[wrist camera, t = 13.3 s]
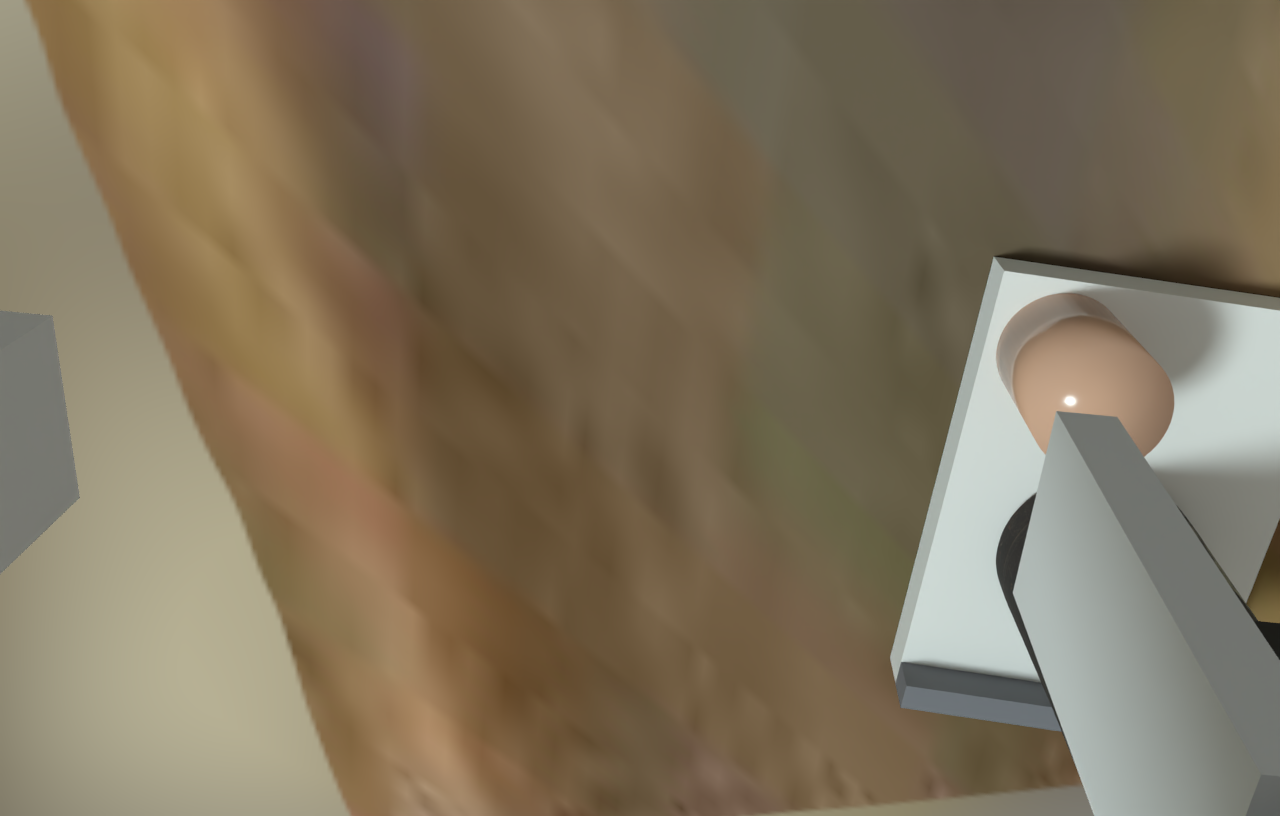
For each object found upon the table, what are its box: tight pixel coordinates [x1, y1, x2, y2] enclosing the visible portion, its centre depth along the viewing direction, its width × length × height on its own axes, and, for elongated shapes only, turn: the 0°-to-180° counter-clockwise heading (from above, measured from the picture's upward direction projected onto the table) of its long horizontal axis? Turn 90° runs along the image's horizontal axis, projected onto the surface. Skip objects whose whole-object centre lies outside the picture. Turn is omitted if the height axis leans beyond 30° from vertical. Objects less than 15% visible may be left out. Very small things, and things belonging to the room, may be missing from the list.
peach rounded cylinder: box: [996, 293, 1174, 457], centre depth 45 cm, size 5×5×6 cm
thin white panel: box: [890, 257, 1280, 731], centre depth 51 cm, size 20×14×4 cm
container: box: [996, 493, 1258, 763], centre depth 43 cm, size 9×9×20 cm
